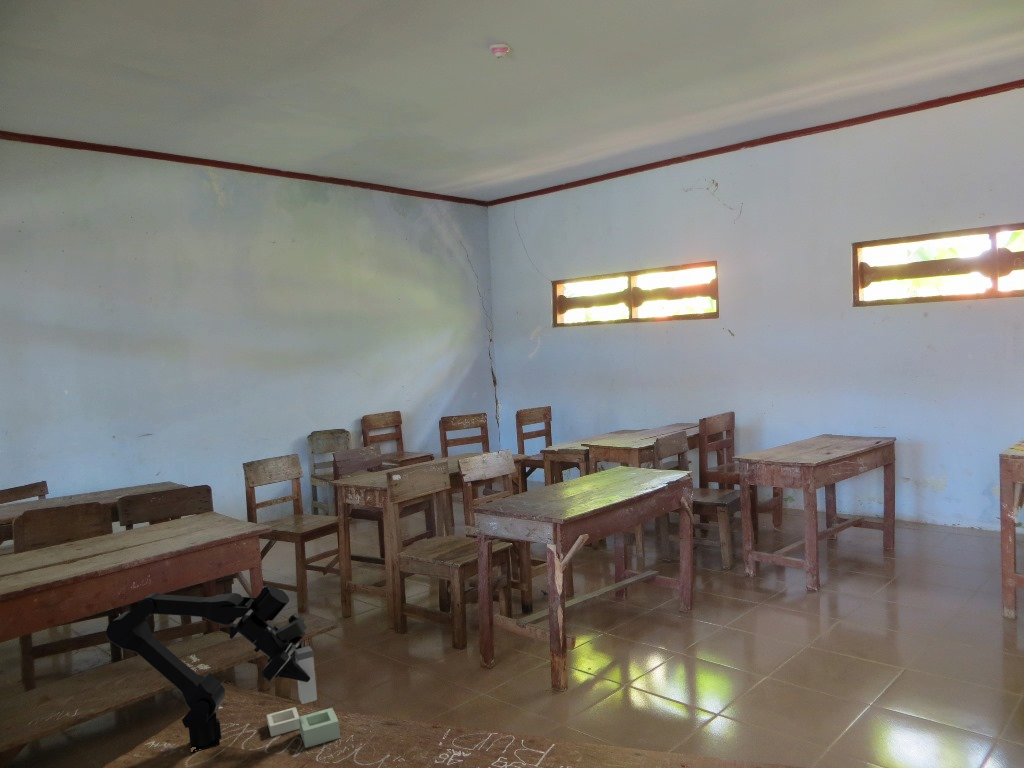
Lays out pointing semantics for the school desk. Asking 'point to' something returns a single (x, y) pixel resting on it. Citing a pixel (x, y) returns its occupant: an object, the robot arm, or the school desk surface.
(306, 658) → the plug
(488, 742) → the school desk surface
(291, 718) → the low collar
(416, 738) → the school desk surface
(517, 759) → the school desk surface
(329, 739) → the raised socket
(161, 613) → the robot arm
